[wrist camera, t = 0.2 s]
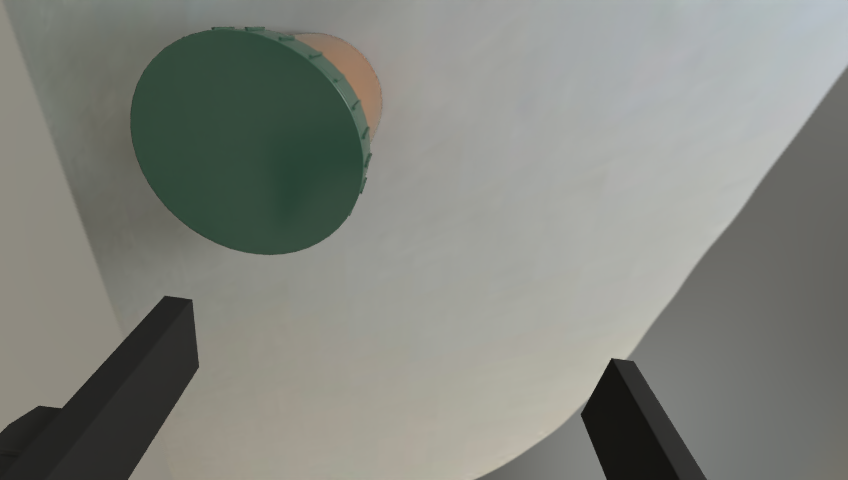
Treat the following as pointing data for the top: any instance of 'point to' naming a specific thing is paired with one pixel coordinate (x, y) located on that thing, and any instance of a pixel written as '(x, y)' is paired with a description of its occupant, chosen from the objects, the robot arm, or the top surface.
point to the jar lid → (251, 139)
